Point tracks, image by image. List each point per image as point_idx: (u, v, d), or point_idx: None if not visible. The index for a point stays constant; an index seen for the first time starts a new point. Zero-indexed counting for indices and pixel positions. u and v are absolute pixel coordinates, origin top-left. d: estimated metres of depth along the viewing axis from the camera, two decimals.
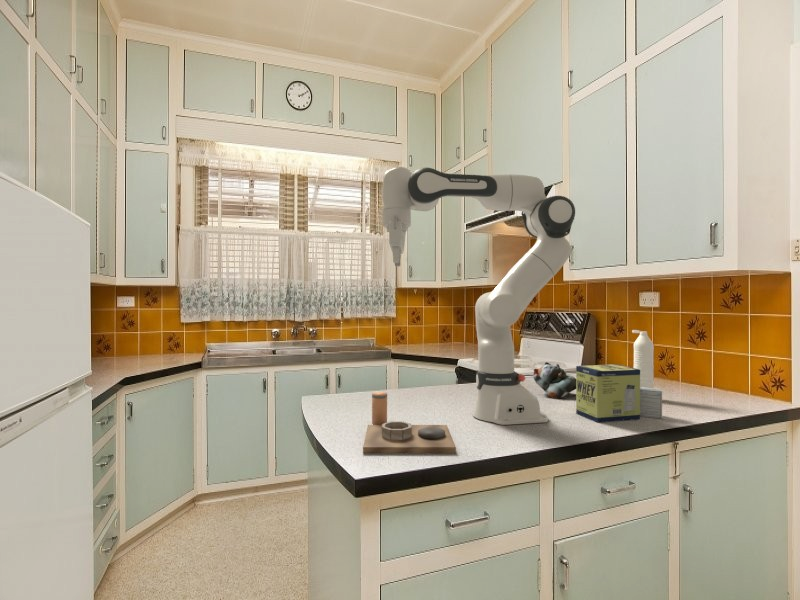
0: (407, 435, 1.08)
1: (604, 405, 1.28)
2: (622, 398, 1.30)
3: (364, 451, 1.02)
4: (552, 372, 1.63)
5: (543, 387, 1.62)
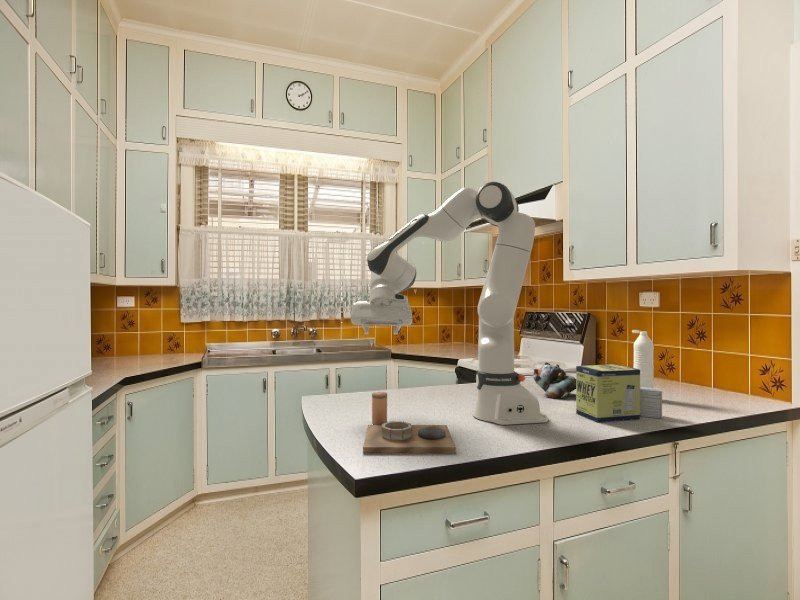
0: (407, 435, 1.08)
1: (604, 405, 1.28)
2: (622, 398, 1.30)
3: (364, 451, 1.02)
4: (552, 372, 1.63)
5: (543, 387, 1.62)
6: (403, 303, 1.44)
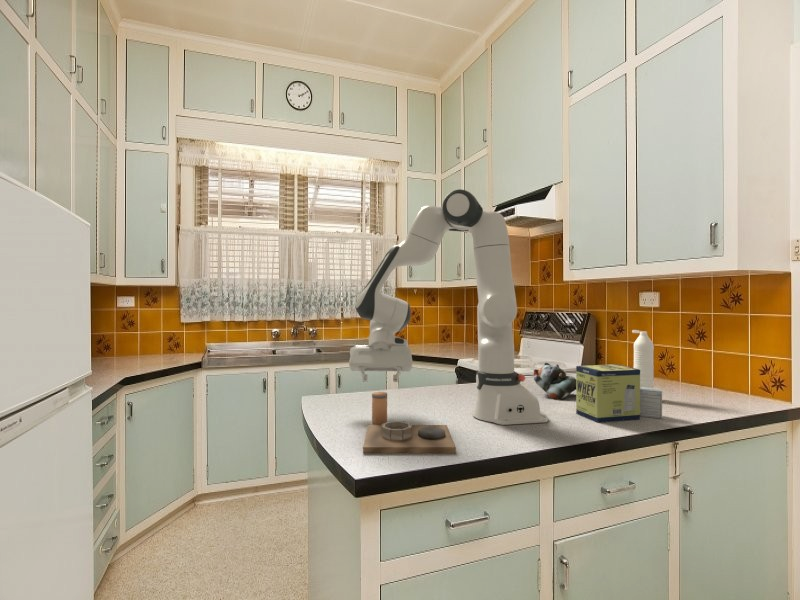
0: (407, 435, 1.08)
1: (604, 405, 1.28)
2: (622, 398, 1.30)
3: (364, 451, 1.02)
4: (552, 373, 1.62)
5: (544, 388, 1.61)
6: (403, 348, 1.39)
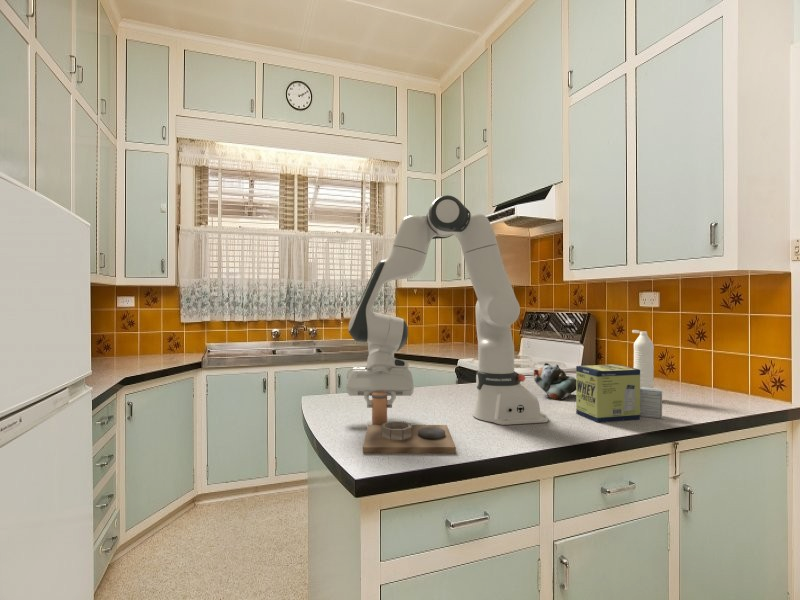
0: (407, 435, 1.08)
1: (604, 405, 1.28)
2: (622, 398, 1.30)
3: (364, 451, 1.02)
4: (553, 373, 1.61)
5: (544, 388, 1.60)
6: (404, 370, 1.31)
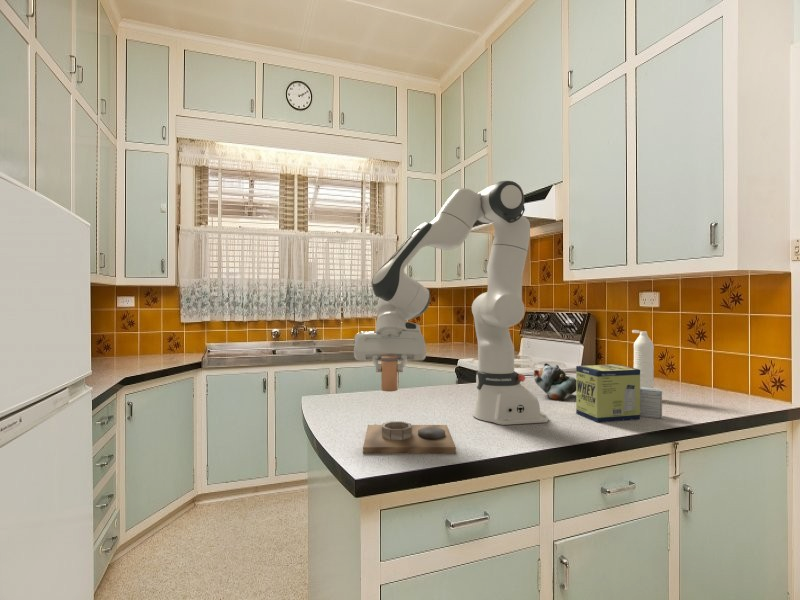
0: (407, 435, 1.08)
1: (604, 405, 1.28)
2: (622, 398, 1.30)
3: (364, 451, 1.02)
4: (553, 373, 1.60)
5: (545, 389, 1.59)
6: (415, 333, 1.22)
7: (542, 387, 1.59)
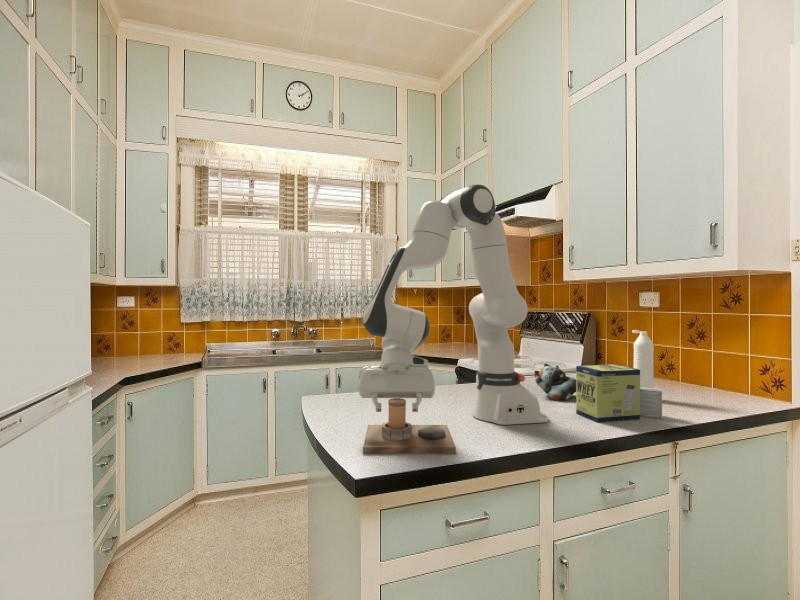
0: (407, 435, 1.08)
1: (604, 405, 1.28)
2: (622, 398, 1.30)
3: (364, 451, 1.02)
4: (554, 374, 1.59)
5: (545, 389, 1.58)
6: (423, 369, 1.16)
7: (543, 388, 1.58)
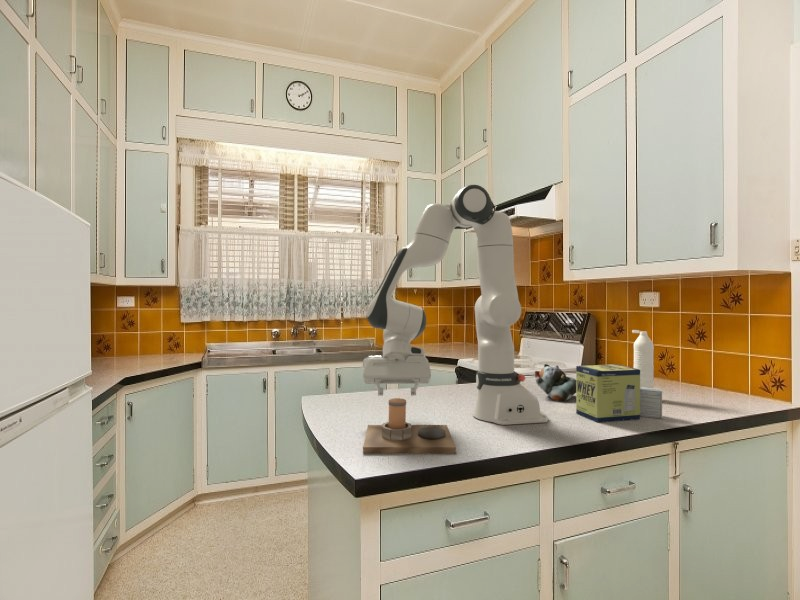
0: (407, 435, 1.08)
1: (604, 405, 1.28)
2: (622, 398, 1.30)
3: (364, 451, 1.02)
4: (554, 374, 1.58)
5: (546, 390, 1.57)
6: (420, 358, 1.30)
7: (543, 388, 1.57)
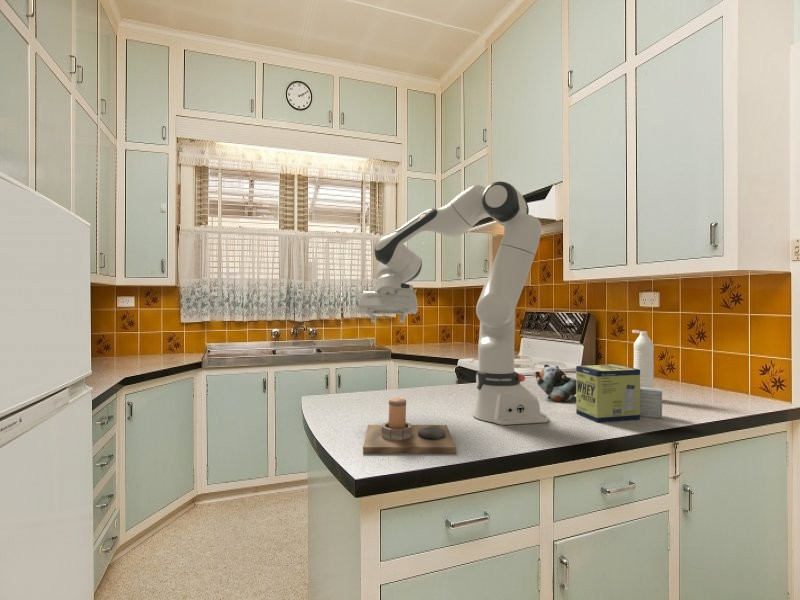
0: (407, 435, 1.08)
1: (604, 405, 1.28)
2: (622, 398, 1.30)
3: (364, 451, 1.02)
4: (555, 375, 1.58)
5: (547, 390, 1.56)
6: (409, 292, 1.47)
7: (544, 389, 1.56)
